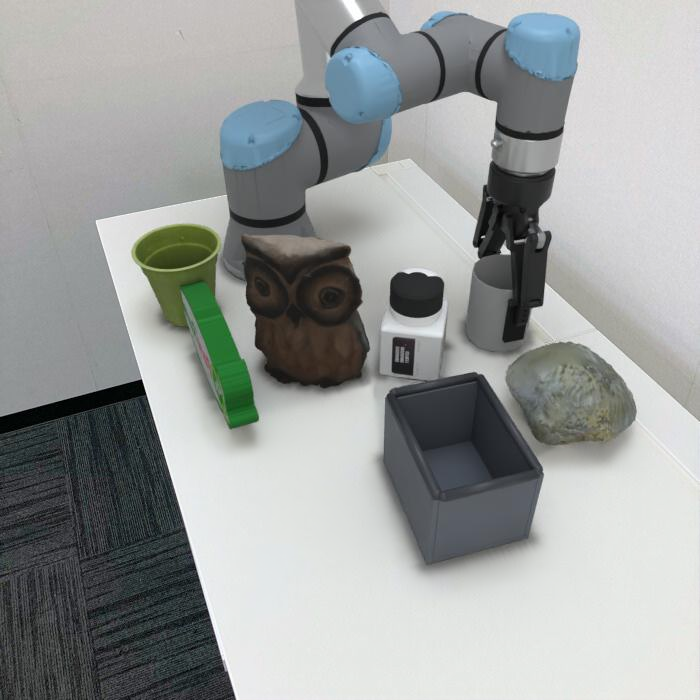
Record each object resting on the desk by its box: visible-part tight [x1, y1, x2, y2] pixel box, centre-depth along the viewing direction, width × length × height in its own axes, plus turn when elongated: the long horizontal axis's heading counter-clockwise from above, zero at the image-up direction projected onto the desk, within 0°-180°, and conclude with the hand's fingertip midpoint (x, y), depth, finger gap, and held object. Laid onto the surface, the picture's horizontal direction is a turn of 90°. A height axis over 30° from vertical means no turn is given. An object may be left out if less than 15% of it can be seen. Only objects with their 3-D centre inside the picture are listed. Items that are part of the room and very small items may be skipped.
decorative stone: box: [505, 340, 638, 447], centre depth 82 cm, size 14×15×10 cm
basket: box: [382, 371, 545, 565], centre depth 72 cm, size 15×11×11 cm
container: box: [378, 267, 450, 381], centre depth 89 cm, size 8×8×13 cm
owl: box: [241, 233, 371, 390], centre depth 86 cm, size 13×13×20 cm
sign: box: [180, 280, 260, 430], centre depth 88 cm, size 26×3×10 cm, turn 23°
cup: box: [464, 253, 533, 353], centre depth 94 cm, size 8×8×10 cm
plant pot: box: [130, 222, 222, 327], centre depth 98 cm, size 12×12×11 cm
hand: (498, 318), depth 96 cm, fingers closed on cup, 8 cm apart
